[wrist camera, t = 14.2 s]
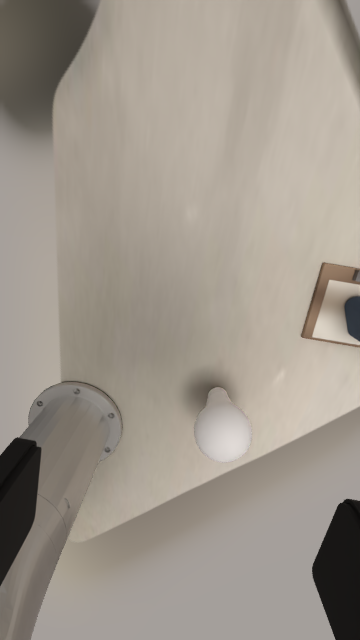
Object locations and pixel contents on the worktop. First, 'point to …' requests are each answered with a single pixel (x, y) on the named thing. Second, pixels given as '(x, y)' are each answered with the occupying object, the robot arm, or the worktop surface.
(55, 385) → the robot arm
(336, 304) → the clipboard
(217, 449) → the lightbulb
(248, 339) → the worktop surface
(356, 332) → the vaping device
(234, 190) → the worktop surface
